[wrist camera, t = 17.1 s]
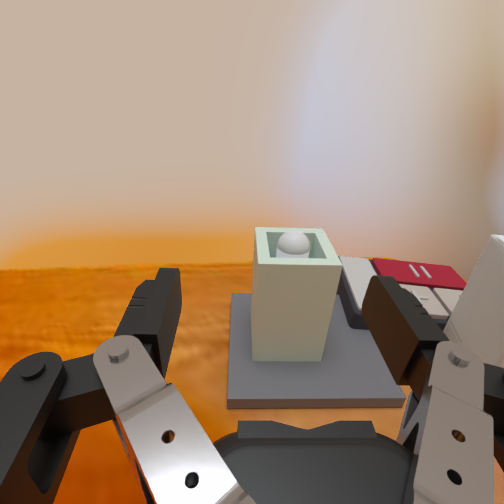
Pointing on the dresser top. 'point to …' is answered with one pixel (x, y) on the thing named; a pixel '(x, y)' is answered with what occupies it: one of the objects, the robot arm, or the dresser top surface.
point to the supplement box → (482, 307)
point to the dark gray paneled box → (408, 276)
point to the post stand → (308, 372)
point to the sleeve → (292, 297)
